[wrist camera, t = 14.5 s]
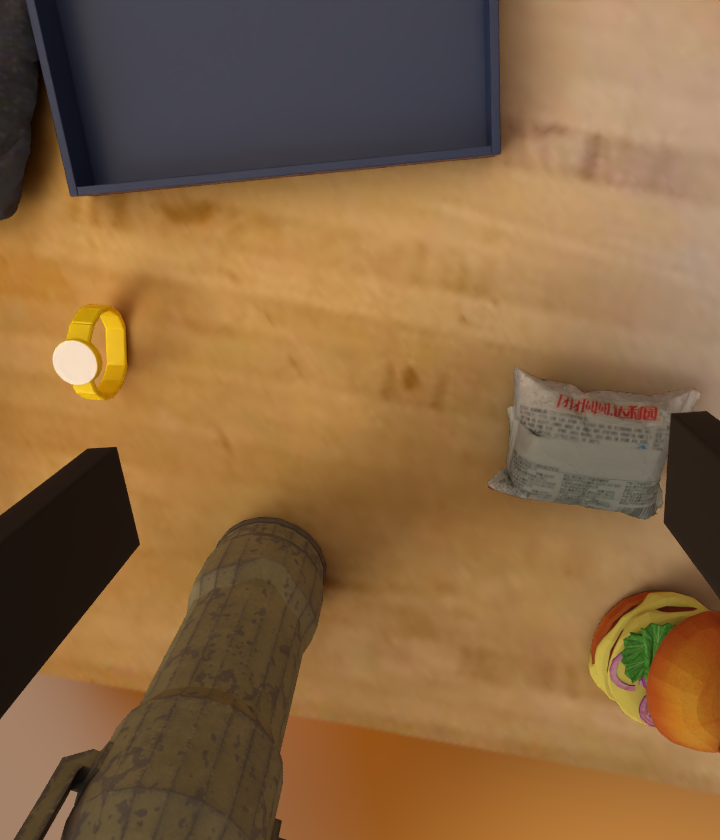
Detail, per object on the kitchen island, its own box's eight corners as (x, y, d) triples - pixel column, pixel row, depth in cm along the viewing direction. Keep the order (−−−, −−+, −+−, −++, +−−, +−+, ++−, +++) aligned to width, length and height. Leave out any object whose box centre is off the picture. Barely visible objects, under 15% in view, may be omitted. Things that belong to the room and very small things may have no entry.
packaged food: (508, 356, 42) (520, 378, 37) (689, 381, 42) (724, 407, 37) (483, 475, 45) (491, 509, 40) (651, 499, 45) (679, 536, 40)
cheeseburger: (552, 620, 48) (621, 702, 39) (670, 541, 48) (769, 605, 38) (612, 713, 51) (692, 813, 41) (725, 639, 51) (831, 722, 41)
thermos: (210, 492, 47) (-254, 1202, 14) (361, 546, 47) (252, 1347, 15) (180, 586, 50) (-259, 1350, 17) (322, 636, 51) (160, 1465, 18)
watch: (140, 386, 44) (102, 415, 39) (101, 383, 45) (57, 411, 39) (134, 300, 42) (93, 317, 37) (93, 297, 43) (46, 314, 37)
